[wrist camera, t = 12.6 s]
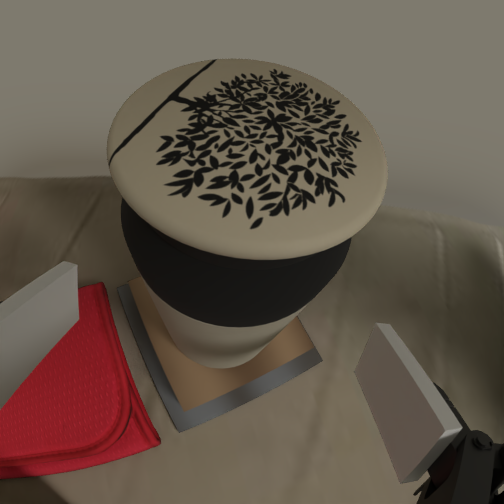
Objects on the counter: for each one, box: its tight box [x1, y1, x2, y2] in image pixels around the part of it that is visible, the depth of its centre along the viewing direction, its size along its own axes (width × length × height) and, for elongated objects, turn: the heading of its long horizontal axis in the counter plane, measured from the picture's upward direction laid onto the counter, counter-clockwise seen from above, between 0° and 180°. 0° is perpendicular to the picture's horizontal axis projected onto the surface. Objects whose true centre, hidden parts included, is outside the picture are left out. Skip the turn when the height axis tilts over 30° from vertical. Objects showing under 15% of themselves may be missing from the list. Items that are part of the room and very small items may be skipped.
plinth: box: [117, 276, 323, 433], centre depth 25 cm, size 14×14×4 cm
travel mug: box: [107, 59, 388, 368], centre depth 15 cm, size 8×8×18 cm
